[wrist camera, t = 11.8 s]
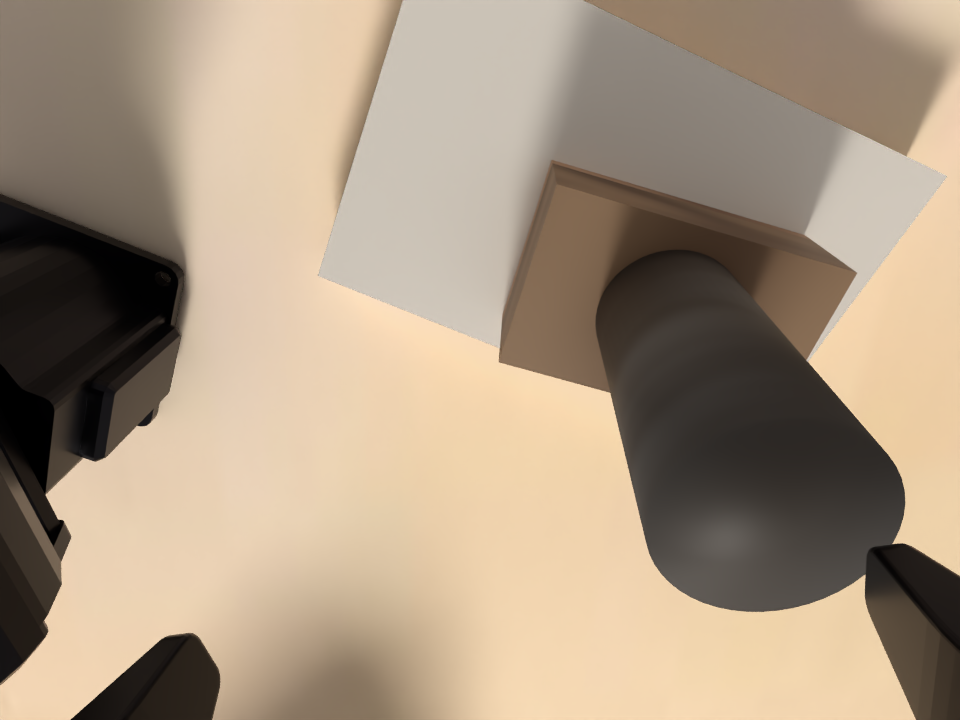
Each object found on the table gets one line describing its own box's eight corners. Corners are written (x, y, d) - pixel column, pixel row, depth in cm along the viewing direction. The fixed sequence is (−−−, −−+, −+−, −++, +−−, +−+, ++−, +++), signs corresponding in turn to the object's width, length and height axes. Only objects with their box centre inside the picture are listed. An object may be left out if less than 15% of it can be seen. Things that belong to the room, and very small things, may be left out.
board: (335, 253, 20) (317, 276, 18) (436, -64, 16) (426, -76, 14) (726, 412, 22) (744, 446, 20) (904, 161, 18) (947, 176, 16)
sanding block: (502, 314, 18) (482, 577, 10) (551, 159, 16) (583, 308, 7) (729, 377, 19) (912, 683, 10) (805, 234, 17) (1118, 460, 8)
